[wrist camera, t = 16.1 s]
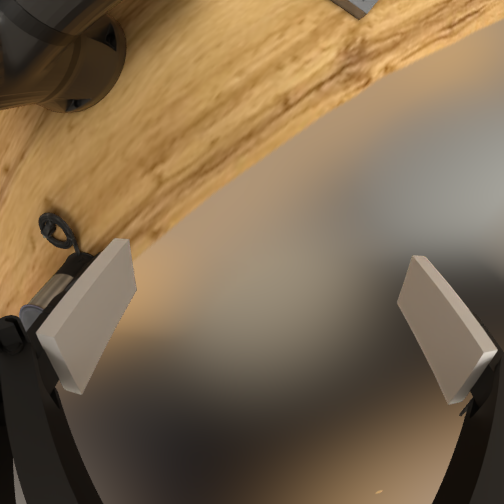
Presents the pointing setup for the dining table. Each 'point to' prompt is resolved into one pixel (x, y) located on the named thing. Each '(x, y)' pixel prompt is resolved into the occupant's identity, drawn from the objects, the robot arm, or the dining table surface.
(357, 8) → the tray
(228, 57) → the dining table surface
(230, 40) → the dining table surface
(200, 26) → the dining table surface
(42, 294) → the milk frother
